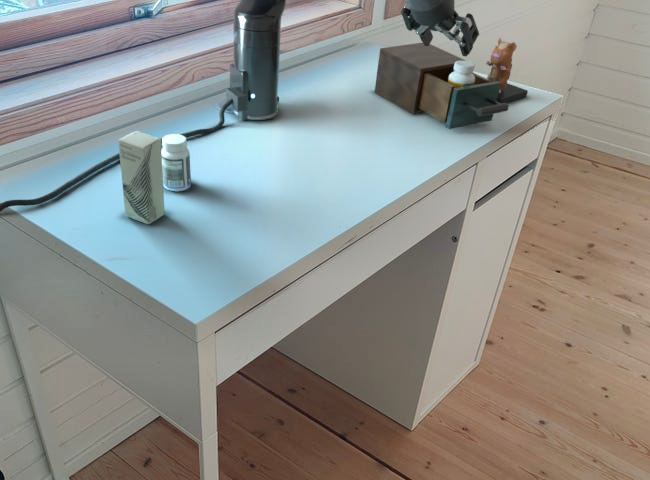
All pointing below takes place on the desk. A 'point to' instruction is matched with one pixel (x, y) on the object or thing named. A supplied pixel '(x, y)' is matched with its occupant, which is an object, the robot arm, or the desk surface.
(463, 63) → the supplement bottle
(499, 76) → the figurine
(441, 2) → the robot arm
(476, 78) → the drawer
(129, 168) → the box
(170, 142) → the pill bottle
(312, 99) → the desk surface
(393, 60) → the cabinet
